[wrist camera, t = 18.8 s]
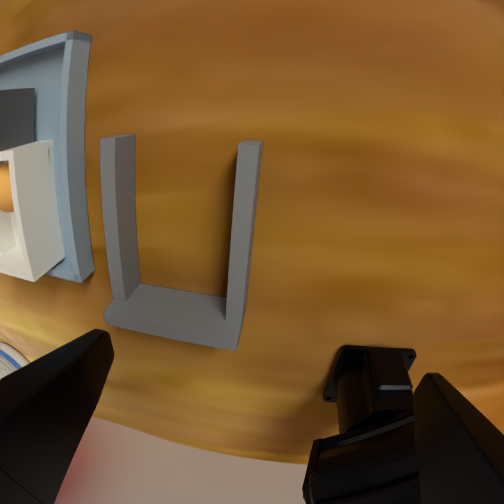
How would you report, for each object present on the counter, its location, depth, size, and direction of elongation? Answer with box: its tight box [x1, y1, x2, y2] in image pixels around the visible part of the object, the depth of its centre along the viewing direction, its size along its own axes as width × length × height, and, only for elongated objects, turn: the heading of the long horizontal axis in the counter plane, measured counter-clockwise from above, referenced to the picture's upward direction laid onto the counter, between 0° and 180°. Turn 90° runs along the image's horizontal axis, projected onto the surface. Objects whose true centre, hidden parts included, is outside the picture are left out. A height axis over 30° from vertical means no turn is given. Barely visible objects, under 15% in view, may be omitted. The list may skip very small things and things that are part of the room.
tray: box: [0, 30, 95, 283], centre depth 17 cm, size 17×11×2 cm, turn 174°
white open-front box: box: [0, 88, 65, 282], centre depth 17 cm, size 13×6×4 cm, turn 175°
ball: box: [0, 163, 14, 212], centre depth 16 cm, size 4×4×4 cm
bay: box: [100, 134, 263, 351], centre depth 18 cm, size 12×9×4 cm
